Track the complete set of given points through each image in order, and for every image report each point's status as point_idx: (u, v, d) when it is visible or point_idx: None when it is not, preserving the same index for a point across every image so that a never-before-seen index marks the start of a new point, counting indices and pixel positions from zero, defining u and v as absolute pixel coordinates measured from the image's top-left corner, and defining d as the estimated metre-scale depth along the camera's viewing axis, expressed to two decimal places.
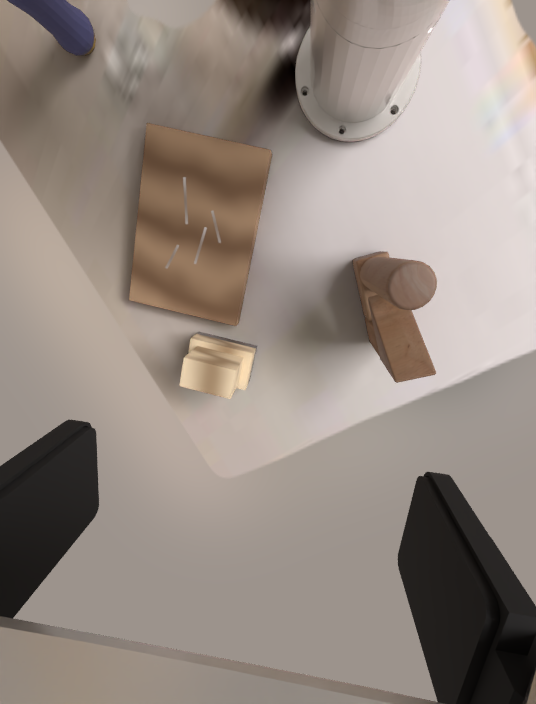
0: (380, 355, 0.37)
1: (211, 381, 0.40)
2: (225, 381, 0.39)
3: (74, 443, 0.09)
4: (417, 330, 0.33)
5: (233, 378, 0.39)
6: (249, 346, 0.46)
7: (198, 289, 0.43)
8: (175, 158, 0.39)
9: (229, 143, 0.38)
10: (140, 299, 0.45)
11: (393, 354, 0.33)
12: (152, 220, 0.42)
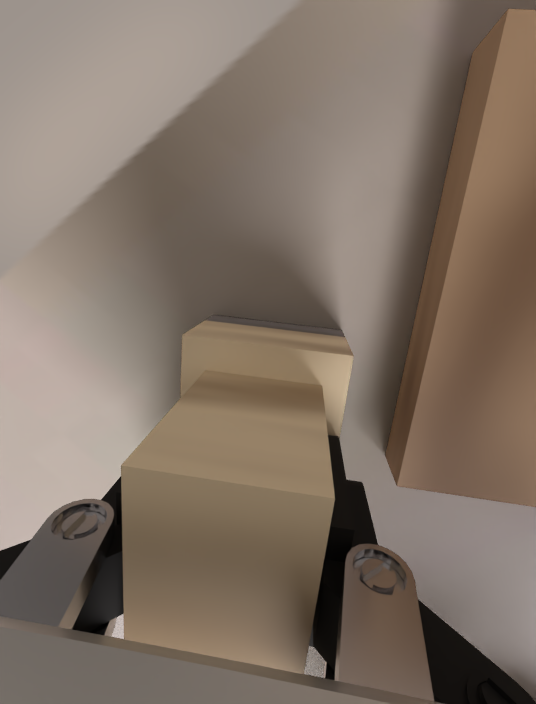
0: None
1: (201, 639, 0.07)
2: None
3: None
4: None
5: None
6: None
7: None
8: None
9: None
10: (509, 78, 0.09)
11: None
12: None
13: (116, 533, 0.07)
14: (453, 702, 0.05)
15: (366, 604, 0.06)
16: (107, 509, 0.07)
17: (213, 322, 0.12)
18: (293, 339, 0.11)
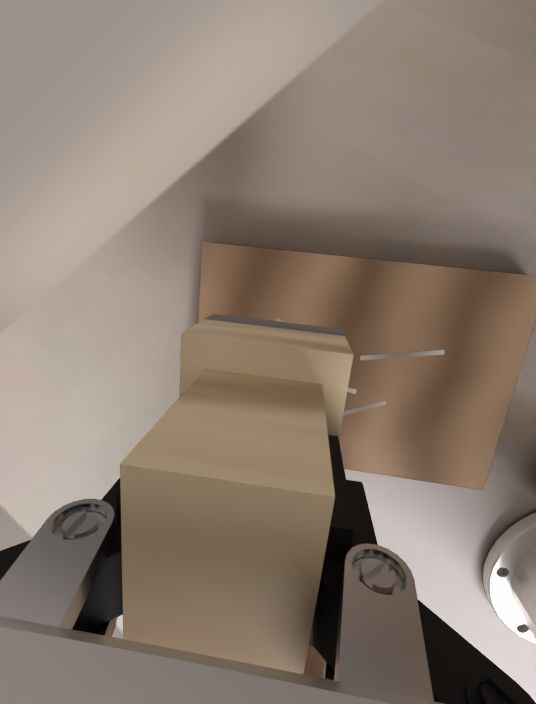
0: None
1: (200, 638, 0.07)
2: None
3: None
4: None
5: None
6: None
7: None
8: (479, 334, 0.21)
9: (498, 428, 0.22)
10: (207, 267, 0.22)
11: None
12: (364, 291, 0.21)
13: (116, 533, 0.07)
14: (452, 702, 0.05)
15: (366, 604, 0.06)
16: (107, 509, 0.07)
17: (212, 321, 0.12)
18: (293, 338, 0.11)
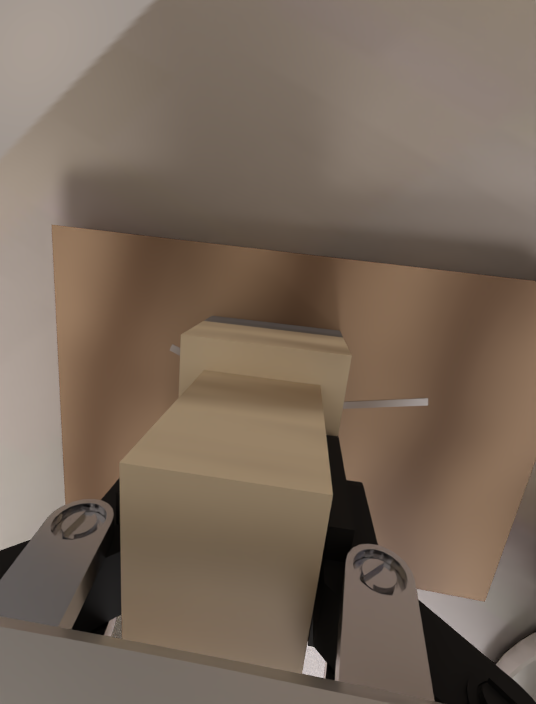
0: None
1: (199, 638, 0.07)
2: None
3: None
4: None
5: None
6: None
7: (132, 435, 0.16)
8: (482, 376, 0.13)
9: (509, 516, 0.15)
10: (63, 264, 0.14)
11: None
12: (302, 305, 0.13)
13: (116, 533, 0.07)
14: (453, 702, 0.05)
15: (366, 604, 0.06)
16: (107, 509, 0.07)
17: (212, 323, 0.13)
18: (291, 339, 0.11)
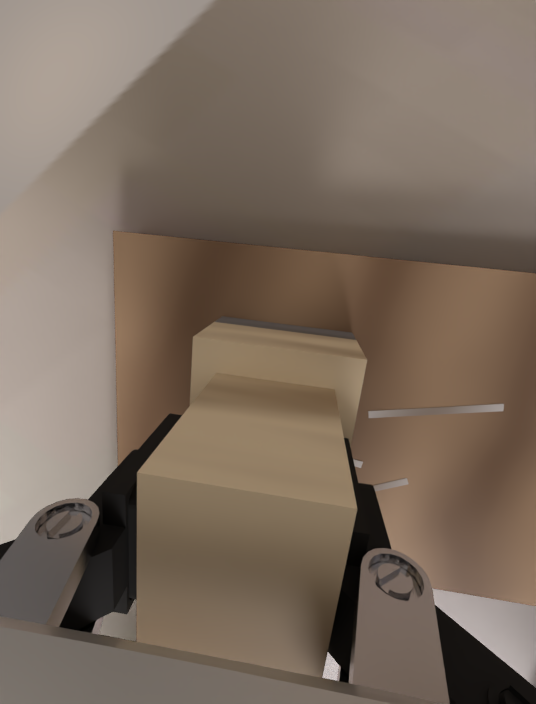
0: None
1: (215, 649, 0.07)
2: None
3: None
4: None
5: None
6: None
7: None
8: None
9: None
10: (124, 271, 0.14)
11: None
12: (375, 310, 0.13)
13: (102, 533, 0.07)
14: None
15: (382, 608, 0.06)
16: (92, 508, 0.07)
17: (223, 324, 0.12)
18: (304, 342, 0.11)
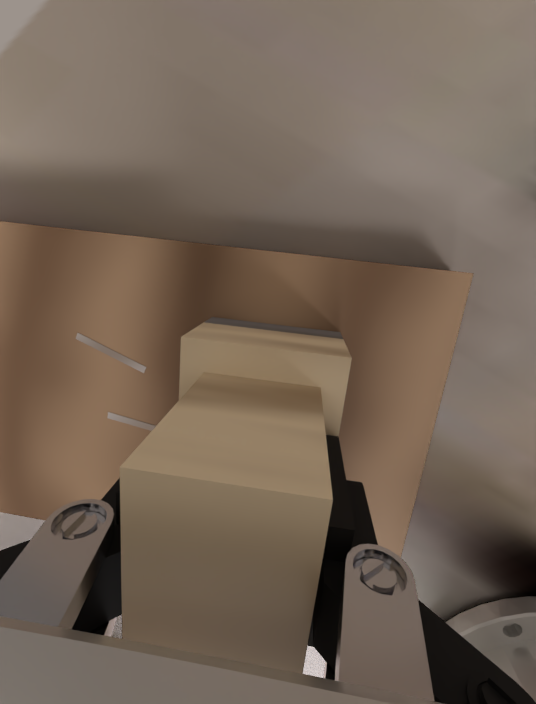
0: None
1: (199, 641, 0.07)
2: None
3: None
4: None
5: None
6: None
7: (47, 423, 0.16)
8: (372, 361, 0.14)
9: (409, 499, 0.15)
10: None
11: None
12: (197, 293, 0.14)
13: (116, 533, 0.07)
14: (453, 702, 0.05)
15: (366, 604, 0.06)
16: (107, 509, 0.07)
17: (212, 324, 0.13)
18: (291, 341, 0.11)
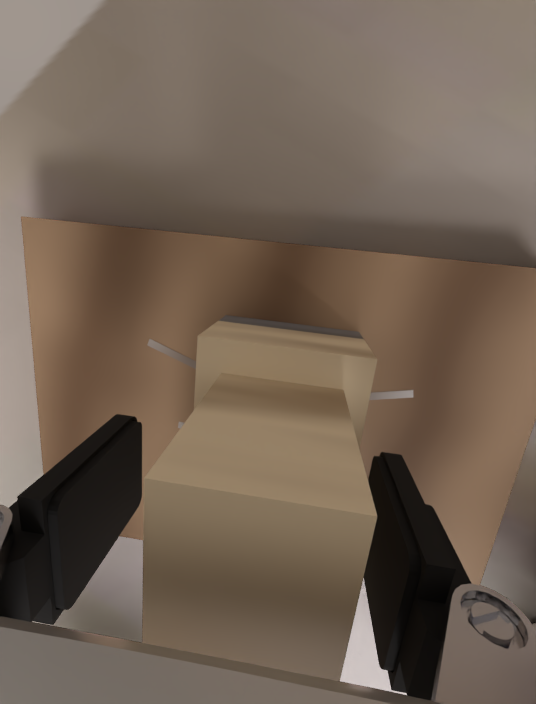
0: None
1: None
2: None
3: (126, 435, 0.10)
4: None
5: None
6: None
7: None
8: (468, 367, 0.13)
9: (498, 509, 0.14)
10: (35, 258, 0.14)
11: None
12: (282, 296, 0.13)
13: (17, 540, 0.07)
14: None
15: (473, 648, 0.05)
16: (6, 515, 0.07)
17: (227, 323, 0.12)
18: (312, 341, 0.11)
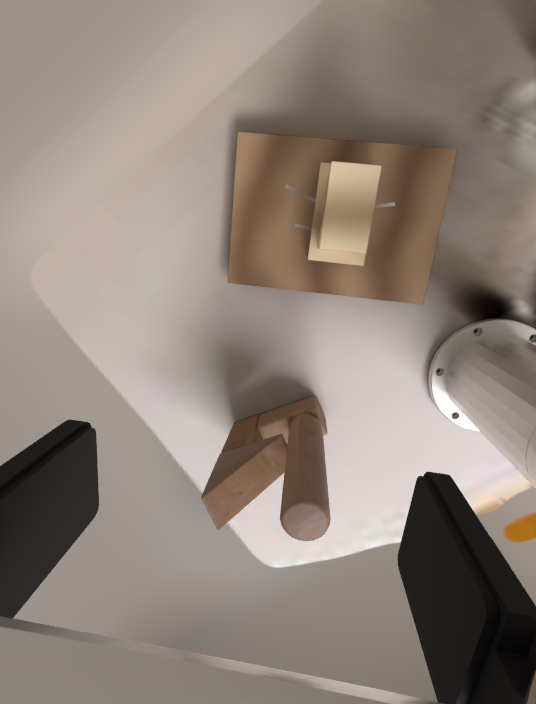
0: (224, 455, 0.35)
1: (345, 215, 0.26)
2: (347, 238, 0.26)
3: (74, 443, 0.09)
4: (257, 494, 0.33)
5: (353, 250, 0.27)
6: None
7: (264, 231, 0.35)
8: (416, 190, 0.33)
9: (430, 257, 0.34)
10: (241, 149, 0.33)
11: (229, 483, 0.31)
12: None
13: None
14: None
15: None
16: None
17: None
18: None
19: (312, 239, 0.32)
